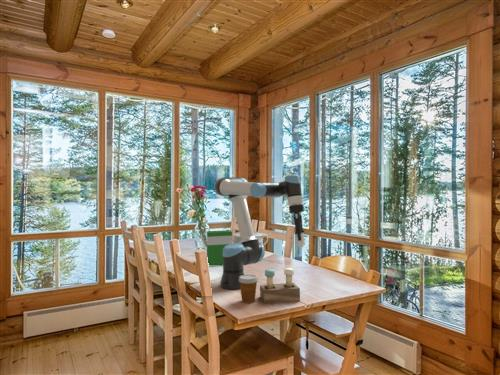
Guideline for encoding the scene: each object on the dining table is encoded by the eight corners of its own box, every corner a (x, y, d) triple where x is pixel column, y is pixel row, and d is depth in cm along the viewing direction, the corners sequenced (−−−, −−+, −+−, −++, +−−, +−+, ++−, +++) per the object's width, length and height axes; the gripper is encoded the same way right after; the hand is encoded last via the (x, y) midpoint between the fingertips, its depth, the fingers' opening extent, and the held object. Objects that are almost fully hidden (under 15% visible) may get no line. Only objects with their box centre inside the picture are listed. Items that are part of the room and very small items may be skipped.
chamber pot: (225, 256, 276) (225, 230, 276) (240, 250, 301) (239, 226, 301) (258, 258, 265) (257, 232, 265) (269, 252, 291) (269, 227, 290)
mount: (260, 296, 176) (260, 285, 176) (293, 294, 179) (293, 282, 179) (264, 303, 166) (264, 290, 166) (300, 300, 169) (299, 288, 169)
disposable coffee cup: (235, 303, 167) (235, 278, 167) (243, 296, 176) (242, 273, 175) (254, 305, 163) (253, 280, 163) (260, 298, 172) (260, 275, 172)
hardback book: (230, 262, 255) (230, 230, 254) (232, 264, 247) (232, 231, 247) (207, 263, 250) (206, 231, 250) (208, 266, 243) (207, 232, 243)
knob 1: (264, 287, 173) (263, 269, 173) (273, 286, 174) (273, 269, 174) (266, 290, 169) (266, 271, 168) (275, 289, 169) (275, 271, 169)
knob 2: (283, 285, 175) (283, 268, 175) (292, 285, 176) (292, 267, 176) (285, 288, 170) (285, 270, 170) (295, 288, 171) (294, 270, 171)
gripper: (301, 202, 163) (308, 247, 160) (304, 204, 187) (310, 243, 184) (286, 204, 164) (292, 249, 162) (290, 206, 188) (296, 245, 186)
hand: (301, 246), depth 173 cm, fingers open, 13 cm apart
